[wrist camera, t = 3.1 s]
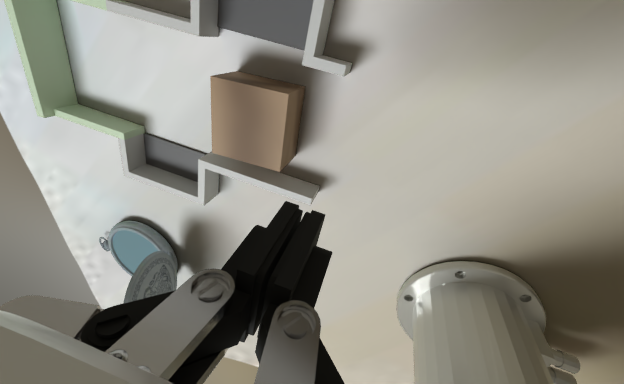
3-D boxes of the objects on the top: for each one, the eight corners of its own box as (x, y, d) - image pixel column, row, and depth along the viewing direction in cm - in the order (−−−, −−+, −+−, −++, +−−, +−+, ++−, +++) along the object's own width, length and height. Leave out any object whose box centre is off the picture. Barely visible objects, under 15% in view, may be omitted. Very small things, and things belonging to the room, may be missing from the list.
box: (370, -5, 19) (363, -14, 16) (308, 227, 29) (297, 248, 26) (30, -85, 23) (-26, -104, 20) (81, 144, 33) (48, 154, 30)
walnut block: (306, 86, 23) (288, 94, 19) (296, 154, 26) (279, 172, 22) (238, 71, 24) (210, 76, 20) (236, 138, 27) (212, 152, 23)
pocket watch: (141, 367, 30) (36, 328, 33) (204, 289, 39) (116, 265, 42) (112, 300, 25) (-7, 262, 28) (192, 230, 34) (94, 208, 38)
